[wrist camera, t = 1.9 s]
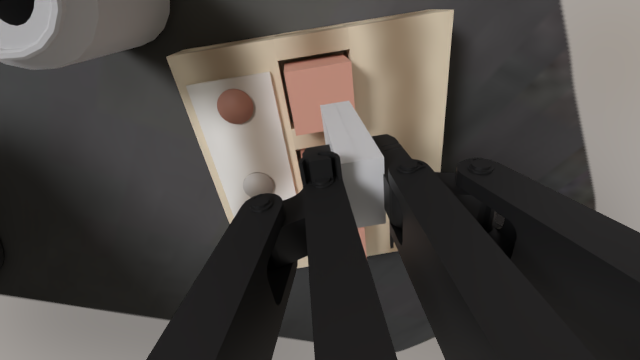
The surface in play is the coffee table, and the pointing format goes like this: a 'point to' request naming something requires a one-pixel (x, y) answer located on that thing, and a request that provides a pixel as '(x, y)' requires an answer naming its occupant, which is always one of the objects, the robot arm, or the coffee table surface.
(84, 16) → the can
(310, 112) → the button
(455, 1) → the coffee table surface
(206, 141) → the board
